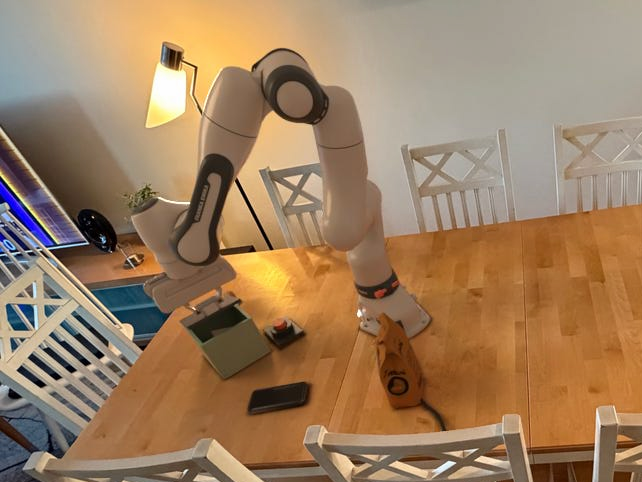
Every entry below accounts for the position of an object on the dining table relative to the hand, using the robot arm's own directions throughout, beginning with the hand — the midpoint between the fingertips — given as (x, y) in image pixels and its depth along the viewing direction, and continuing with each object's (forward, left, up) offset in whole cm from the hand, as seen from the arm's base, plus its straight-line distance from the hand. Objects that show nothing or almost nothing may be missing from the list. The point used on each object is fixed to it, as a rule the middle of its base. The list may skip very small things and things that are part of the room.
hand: (209, 307), depth 134 cm
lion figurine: (+24, -9, -20) cm, 33 cm away
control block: (0, -14, -20) cm, 24 cm away
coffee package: (-49, -24, -20) cm, 58 cm away
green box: (+4, 0, -20) cm, 20 cm away
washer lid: (+4, 0, -4) cm, 6 cm away
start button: (+1, -14, -17) cm, 22 cm away
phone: (-24, 0, -20) cm, 31 cm away
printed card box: (+2, 0, -19) cm, 19 cm away
